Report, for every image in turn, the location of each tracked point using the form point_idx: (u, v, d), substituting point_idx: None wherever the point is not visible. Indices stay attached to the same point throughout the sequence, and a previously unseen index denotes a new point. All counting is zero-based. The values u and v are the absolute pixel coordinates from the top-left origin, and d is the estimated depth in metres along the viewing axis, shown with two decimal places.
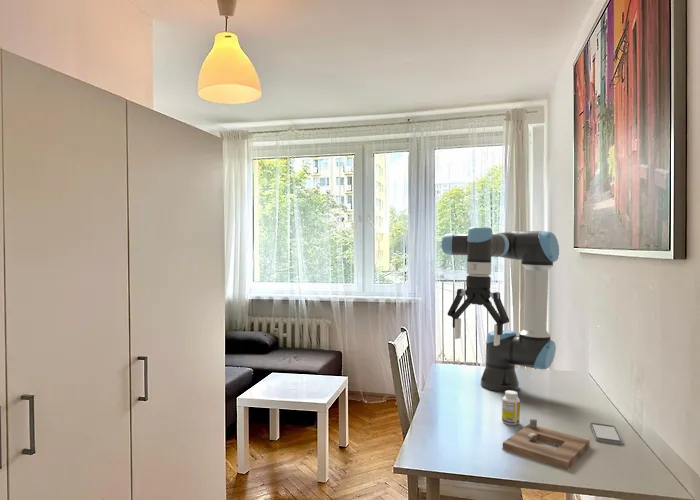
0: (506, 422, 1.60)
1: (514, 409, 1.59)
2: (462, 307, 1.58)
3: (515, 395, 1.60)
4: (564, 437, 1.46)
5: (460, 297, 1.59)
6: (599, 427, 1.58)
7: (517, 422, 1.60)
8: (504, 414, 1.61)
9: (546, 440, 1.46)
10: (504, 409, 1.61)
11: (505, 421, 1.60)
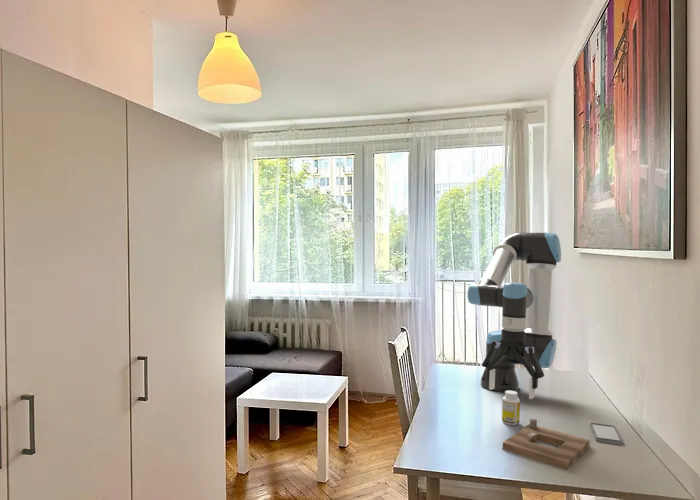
0: (506, 422, 1.60)
1: (514, 409, 1.59)
2: (497, 359, 1.64)
3: (515, 395, 1.60)
4: (564, 437, 1.46)
5: (495, 349, 1.65)
6: (599, 427, 1.58)
7: (517, 422, 1.60)
8: (504, 414, 1.61)
9: (546, 440, 1.46)
10: (504, 409, 1.61)
11: (505, 421, 1.60)
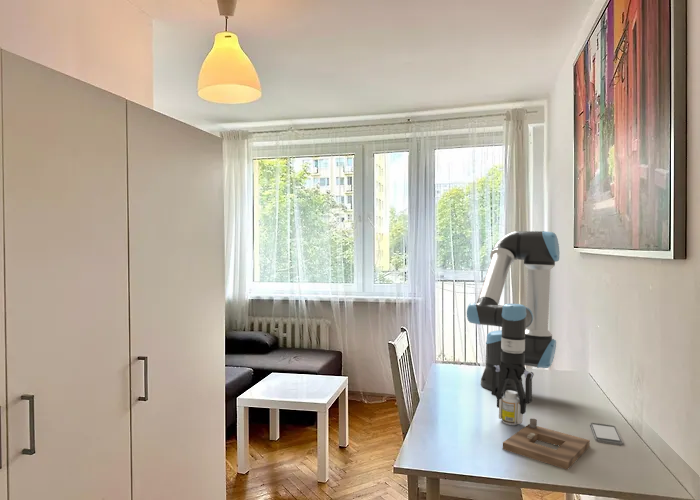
0: (506, 422, 1.60)
1: (514, 409, 1.59)
2: (502, 384, 1.63)
3: (515, 395, 1.60)
4: (564, 437, 1.46)
5: (497, 373, 1.65)
6: (599, 427, 1.58)
7: None
8: (504, 414, 1.61)
9: (546, 440, 1.46)
10: (504, 409, 1.61)
11: (505, 421, 1.60)
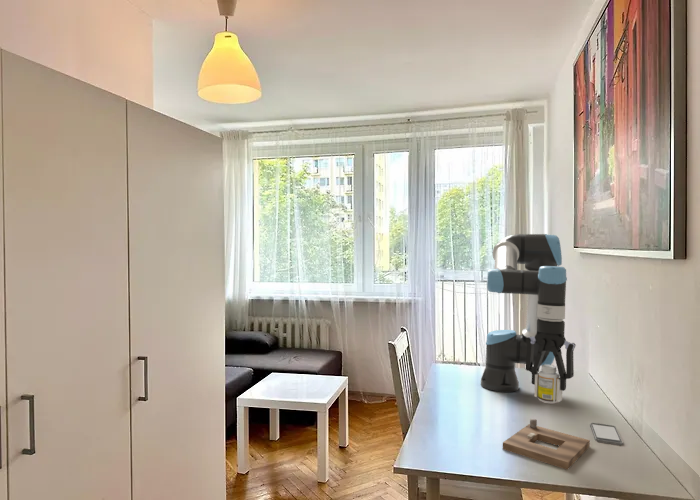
0: (543, 400, 1.40)
1: (553, 385, 1.39)
2: (538, 358, 1.43)
3: (554, 369, 1.40)
4: (564, 437, 1.46)
5: (532, 346, 1.45)
6: (599, 427, 1.58)
7: None
8: (541, 391, 1.41)
9: (546, 440, 1.46)
10: (541, 385, 1.41)
11: (542, 399, 1.40)
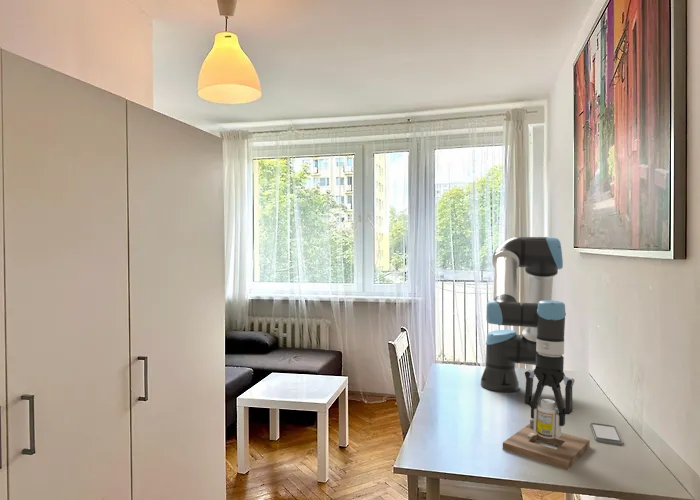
0: (542, 435, 1.40)
1: (552, 420, 1.39)
2: (537, 392, 1.43)
3: (553, 404, 1.40)
4: (564, 437, 1.46)
5: (531, 380, 1.45)
6: (599, 427, 1.58)
7: None
8: (540, 426, 1.41)
9: (546, 440, 1.46)
10: (540, 420, 1.41)
11: (541, 434, 1.41)
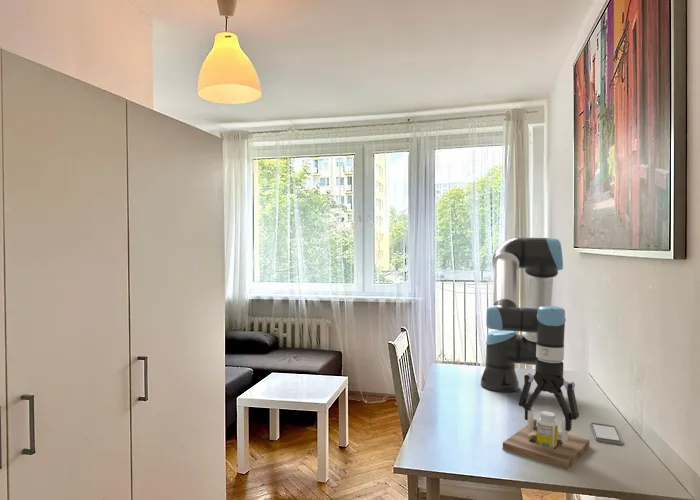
0: None
1: (552, 433, 1.39)
2: (534, 396, 1.44)
3: (552, 417, 1.40)
4: None
5: (529, 384, 1.45)
6: (599, 427, 1.58)
7: (555, 448, 1.40)
8: (540, 439, 1.41)
9: None
10: (540, 433, 1.41)
11: None
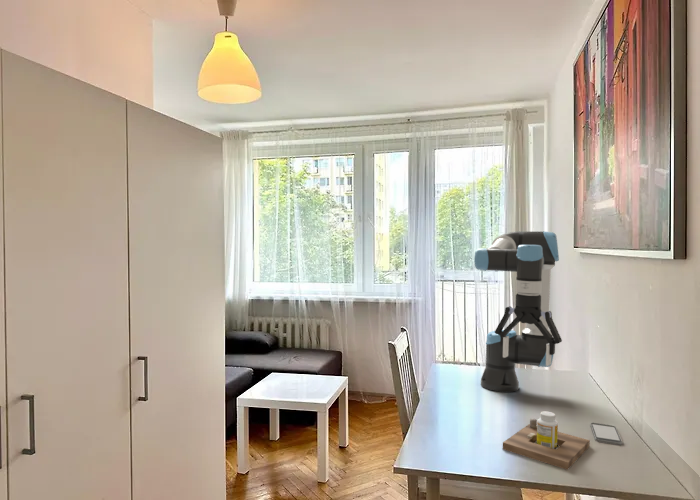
0: None
1: (552, 433, 1.39)
2: (511, 326, 1.55)
3: (552, 417, 1.40)
4: (564, 437, 1.46)
5: (508, 315, 1.57)
6: (599, 427, 1.58)
7: (555, 448, 1.40)
8: (540, 439, 1.41)
9: None
10: (540, 433, 1.41)
11: None
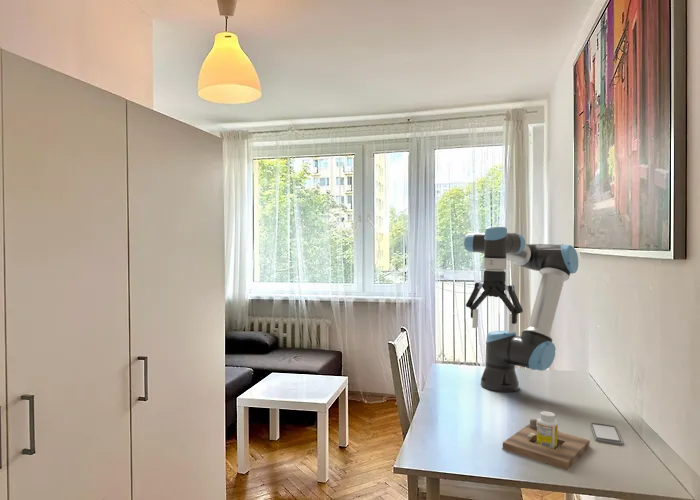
0: None
1: (552, 433, 1.39)
2: (479, 299, 1.74)
3: (552, 417, 1.40)
4: (564, 437, 1.46)
5: (477, 290, 1.76)
6: (599, 427, 1.58)
7: (555, 448, 1.40)
8: (540, 439, 1.41)
9: None
10: (540, 433, 1.41)
11: None
